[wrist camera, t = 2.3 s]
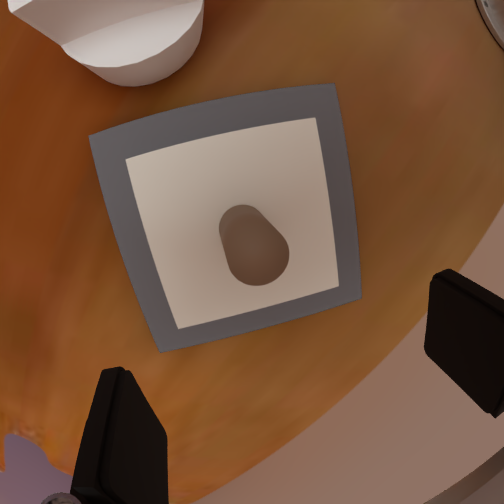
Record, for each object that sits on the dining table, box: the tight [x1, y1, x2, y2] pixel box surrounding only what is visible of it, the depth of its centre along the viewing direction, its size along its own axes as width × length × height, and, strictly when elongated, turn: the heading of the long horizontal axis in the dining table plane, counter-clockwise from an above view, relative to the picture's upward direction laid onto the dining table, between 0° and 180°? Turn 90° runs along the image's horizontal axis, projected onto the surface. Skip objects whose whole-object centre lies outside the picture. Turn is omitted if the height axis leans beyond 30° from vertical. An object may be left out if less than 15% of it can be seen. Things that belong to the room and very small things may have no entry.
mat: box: [89, 83, 362, 353], centre depth 23 cm, size 18×18×1 cm
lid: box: [125, 118, 339, 329], centre depth 19 cm, size 13×13×7 cm
